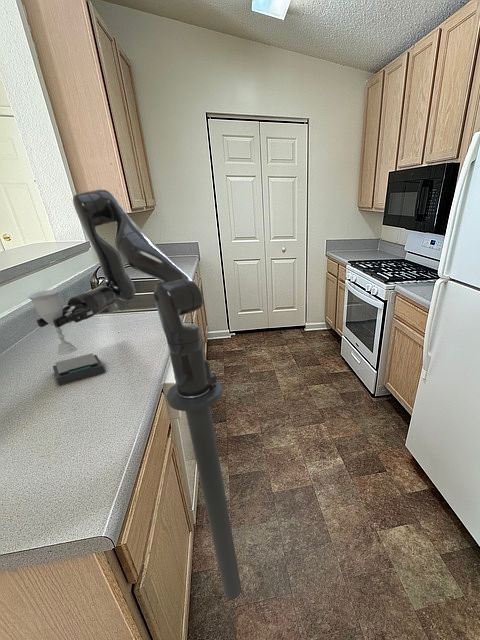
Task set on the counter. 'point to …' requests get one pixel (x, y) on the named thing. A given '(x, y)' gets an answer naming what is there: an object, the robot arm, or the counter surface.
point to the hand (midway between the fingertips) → (47, 323)
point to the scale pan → (76, 363)
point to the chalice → (51, 315)
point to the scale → (79, 373)
